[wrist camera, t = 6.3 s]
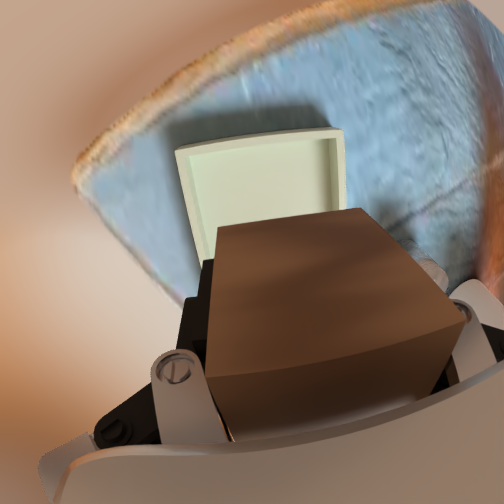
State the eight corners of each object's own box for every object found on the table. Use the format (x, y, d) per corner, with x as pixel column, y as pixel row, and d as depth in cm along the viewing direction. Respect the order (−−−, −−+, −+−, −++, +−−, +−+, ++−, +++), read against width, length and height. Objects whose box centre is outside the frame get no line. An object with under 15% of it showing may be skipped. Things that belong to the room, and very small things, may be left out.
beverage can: (430, 307, 31) (477, 374, 21) (473, 265, 29) (528, 323, 18) (446, 331, 34) (484, 389, 24) (483, 295, 32) (528, 347, 21)
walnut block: (360, 207, 10) (466, 319, 4) (353, 314, 12) (405, 431, 7) (217, 227, 10) (204, 377, 4) (240, 334, 12) (248, 466, 7)
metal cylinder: (420, 236, 26) (453, 266, 21) (414, 272, 28) (442, 305, 23) (385, 242, 26) (414, 274, 21) (380, 279, 28) (405, 315, 23)
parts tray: (332, 126, 21) (343, 129, 18) (335, 282, 28) (343, 298, 26) (181, 145, 21) (174, 150, 19) (215, 300, 28) (214, 317, 26)
